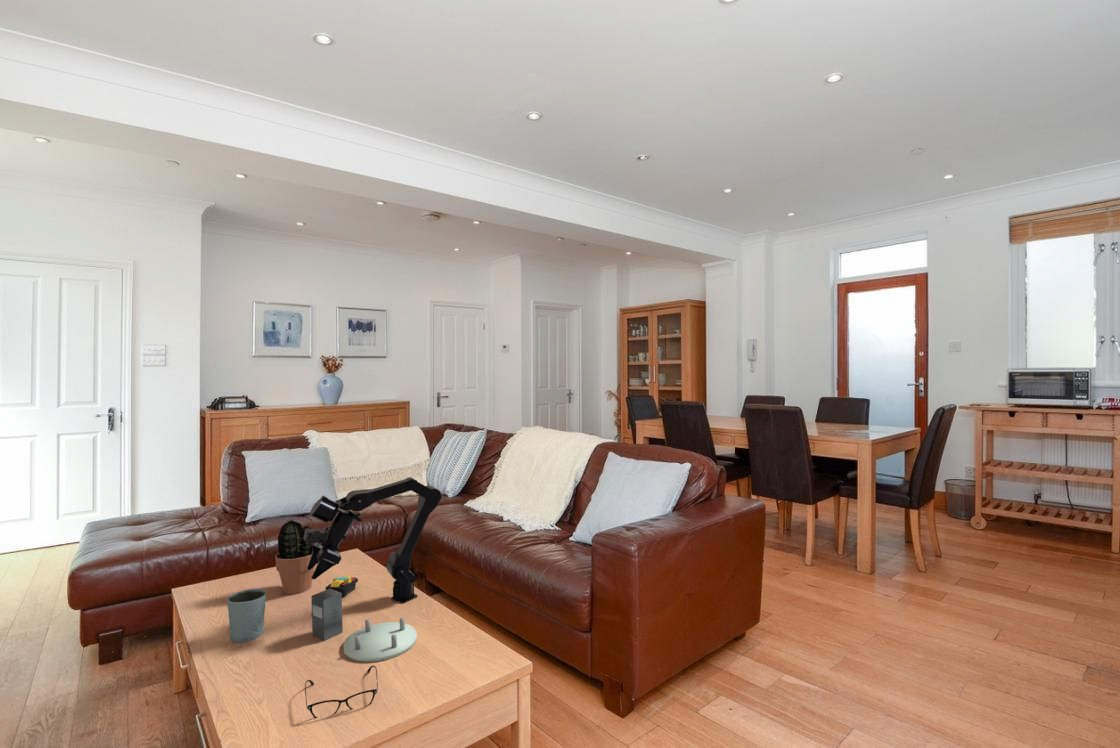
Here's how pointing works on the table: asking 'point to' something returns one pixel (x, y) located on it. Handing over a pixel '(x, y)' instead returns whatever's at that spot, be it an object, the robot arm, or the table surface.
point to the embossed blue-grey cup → (246, 614)
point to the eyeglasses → (340, 700)
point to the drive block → (327, 614)
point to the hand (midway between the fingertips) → (310, 574)
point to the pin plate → (380, 641)
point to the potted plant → (294, 558)
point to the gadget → (343, 584)
